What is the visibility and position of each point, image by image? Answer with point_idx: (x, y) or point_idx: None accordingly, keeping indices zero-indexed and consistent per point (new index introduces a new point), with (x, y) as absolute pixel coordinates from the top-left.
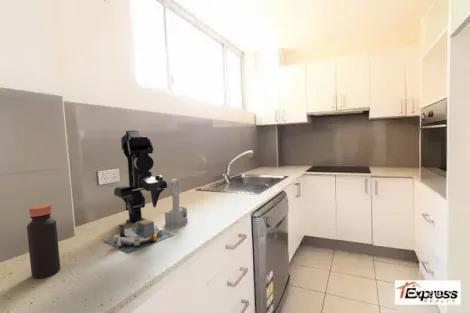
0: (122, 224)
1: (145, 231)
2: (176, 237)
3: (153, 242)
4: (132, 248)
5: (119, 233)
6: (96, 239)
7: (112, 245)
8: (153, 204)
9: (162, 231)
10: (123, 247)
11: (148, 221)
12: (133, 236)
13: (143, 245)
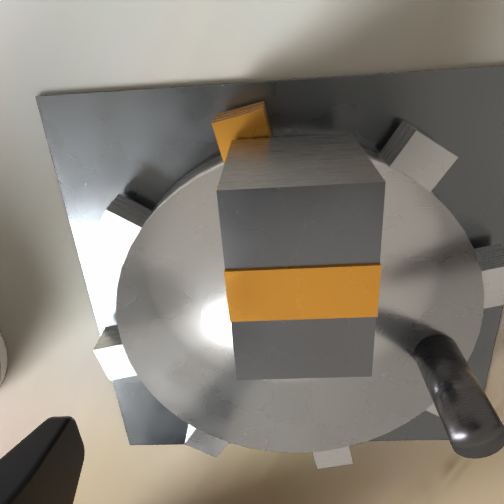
0: (473, 434)
1: (352, 151)
2: (36, 13)
3: (273, 88)
4: (466, 127)
5: (408, 418)
6: (473, 488)
7: (497, 324)
8: (59, 500)
9: (87, 263)
10: (488, 215)
11: (264, 259)
12: (389, 269)
13: (371, 103)
